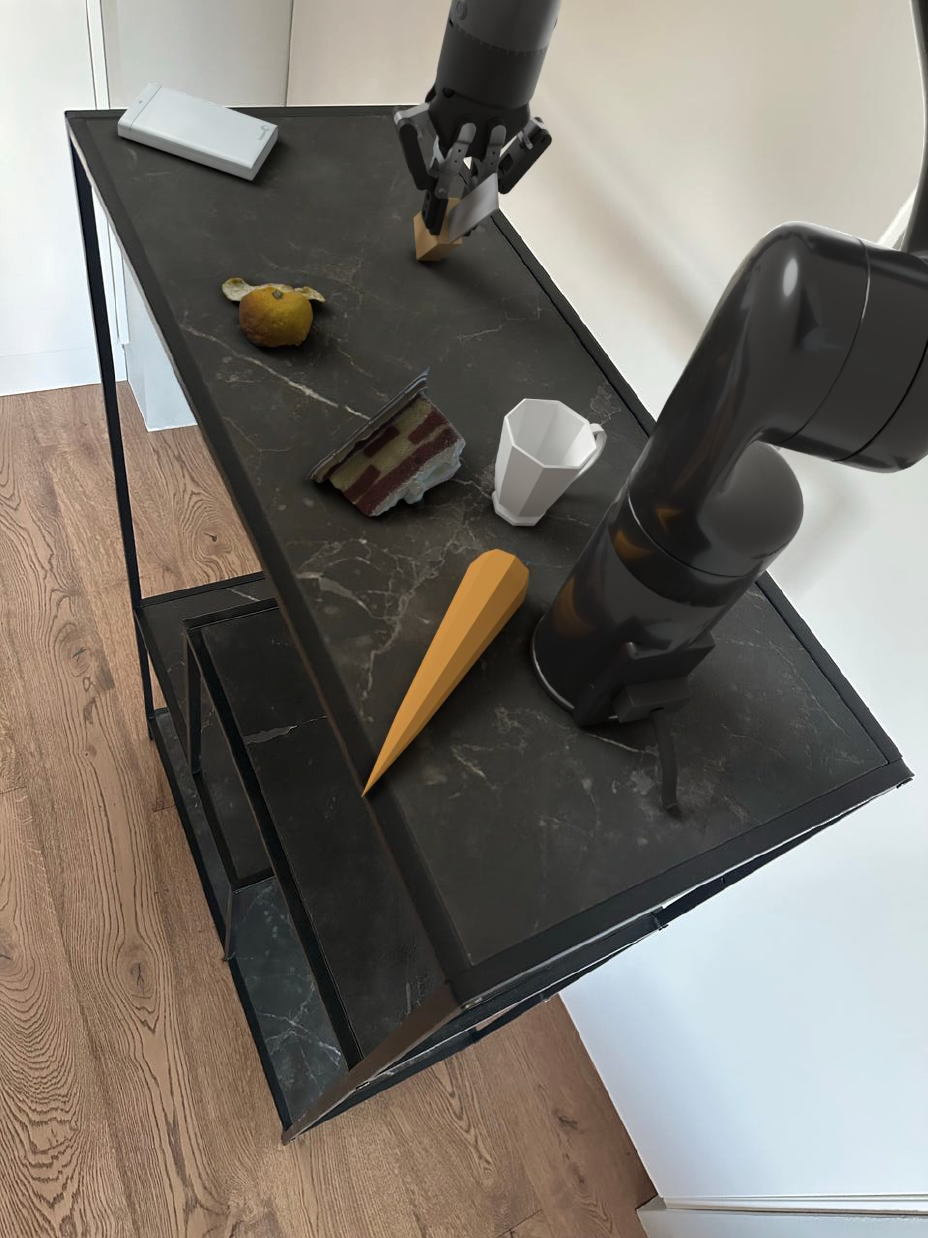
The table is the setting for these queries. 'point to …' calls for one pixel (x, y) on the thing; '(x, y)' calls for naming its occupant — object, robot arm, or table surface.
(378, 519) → the table surface
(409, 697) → the carrot
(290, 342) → the fruit
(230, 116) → the hard drive
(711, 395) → the robot arm
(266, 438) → the table surface
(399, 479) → the chocolate cake
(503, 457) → the cup
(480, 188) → the knife
